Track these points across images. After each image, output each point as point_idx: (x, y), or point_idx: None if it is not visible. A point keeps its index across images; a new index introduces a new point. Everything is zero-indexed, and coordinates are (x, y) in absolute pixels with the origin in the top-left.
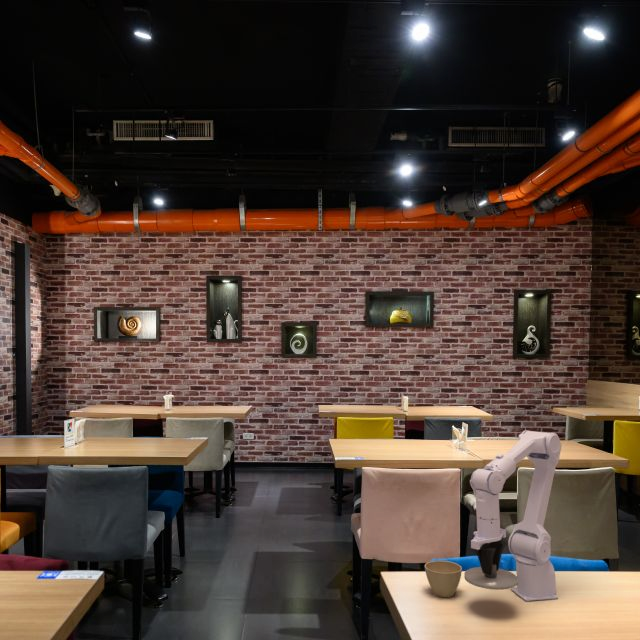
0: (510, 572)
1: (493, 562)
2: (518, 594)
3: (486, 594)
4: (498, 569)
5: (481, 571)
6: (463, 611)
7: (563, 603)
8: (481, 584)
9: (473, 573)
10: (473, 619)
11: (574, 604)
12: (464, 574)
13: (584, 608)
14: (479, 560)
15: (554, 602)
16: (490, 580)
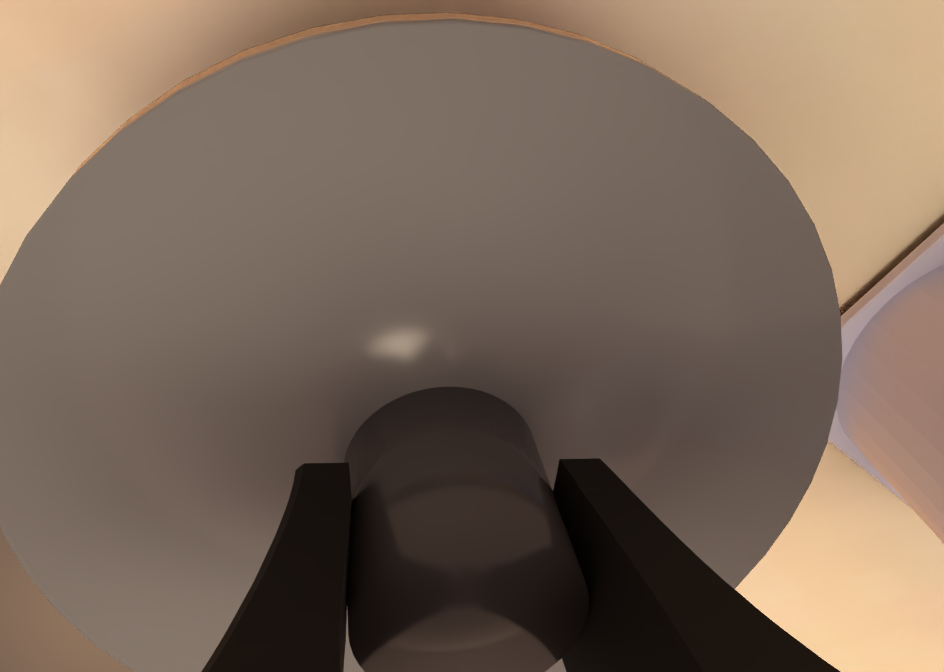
0: (746, 566)
1: (589, 622)
2: (868, 298)
3: (766, 16)
4: (789, 422)
5: (550, 280)
6: (129, 16)
7: (860, 557)
8: (5, 525)
9: (355, 219)
10: (42, 204)
11: (873, 601)
12: (162, 105)
13: (833, 652)
14: (231, 631)
15: (852, 516)
16: (267, 538)
